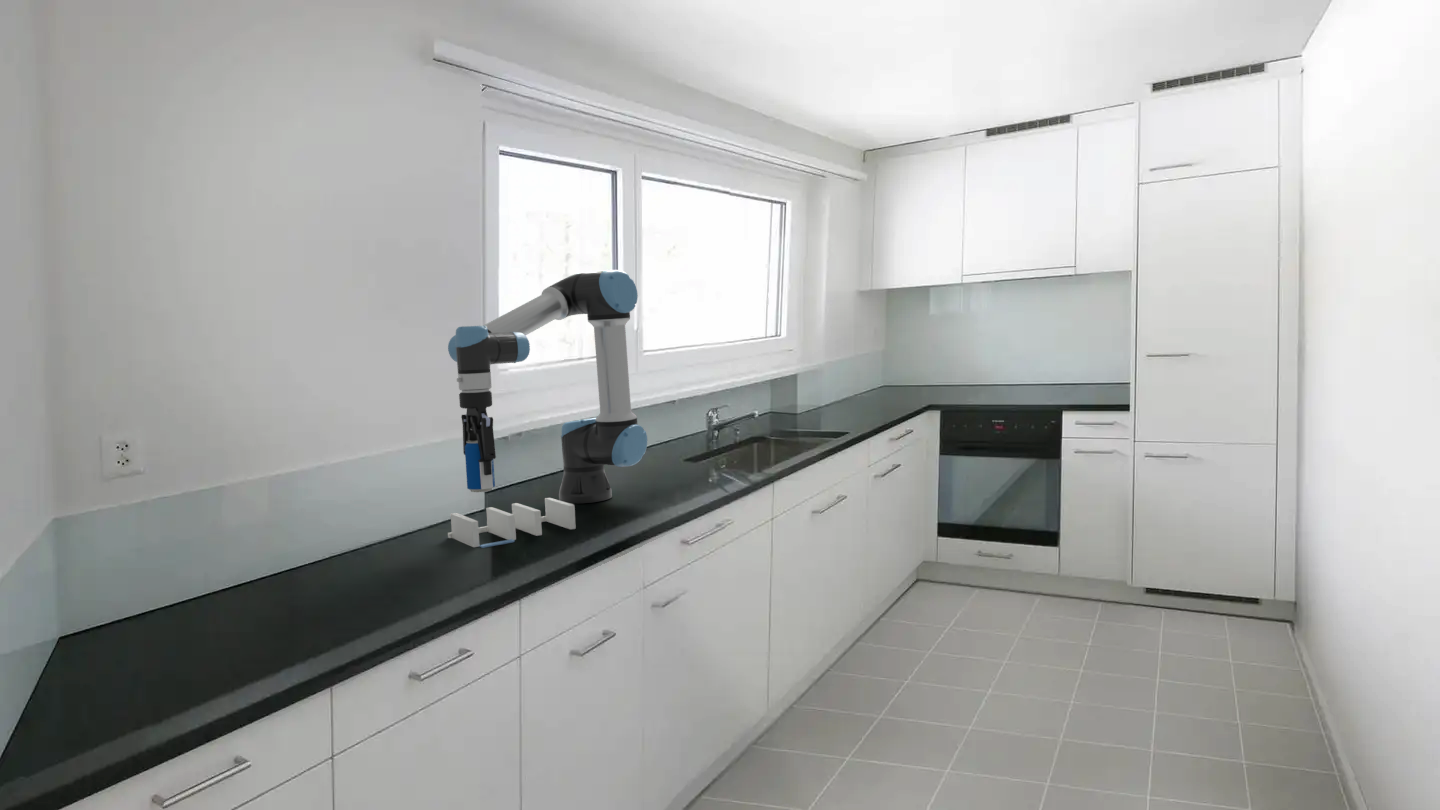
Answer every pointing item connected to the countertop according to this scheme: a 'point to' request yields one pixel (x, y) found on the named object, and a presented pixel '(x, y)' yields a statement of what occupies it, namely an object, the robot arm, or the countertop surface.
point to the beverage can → (474, 467)
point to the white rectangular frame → (512, 521)
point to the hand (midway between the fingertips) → (481, 486)
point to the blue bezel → (496, 543)
